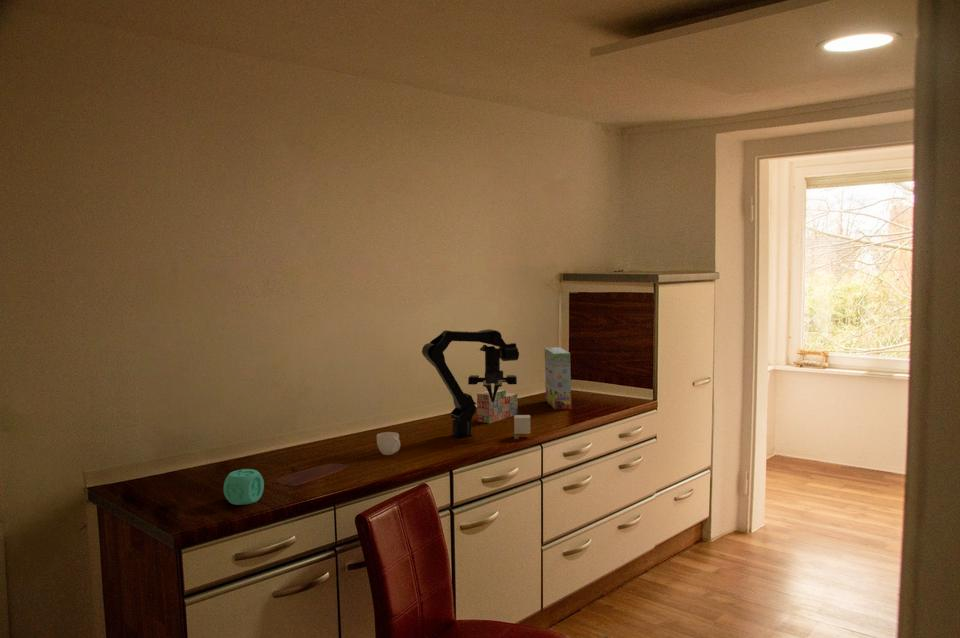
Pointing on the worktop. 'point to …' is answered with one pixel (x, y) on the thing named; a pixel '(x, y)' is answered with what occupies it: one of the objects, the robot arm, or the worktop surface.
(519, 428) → the slab
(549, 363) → the snack box
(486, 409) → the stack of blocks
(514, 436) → the roller
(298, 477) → the wooden tablet
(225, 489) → the decorative dice
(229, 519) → the worktop surface
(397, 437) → the cup
